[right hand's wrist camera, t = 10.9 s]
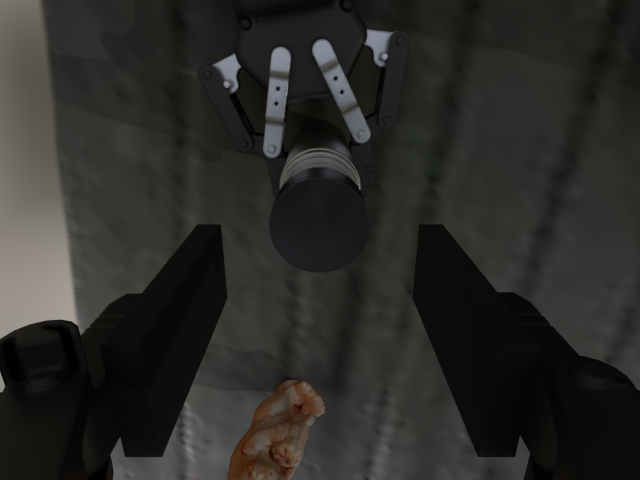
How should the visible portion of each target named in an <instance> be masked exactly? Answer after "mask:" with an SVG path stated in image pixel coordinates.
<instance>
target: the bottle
mask: <svg viewBox="0 0 640 480" xmlns="http://www.w3.org/2000/svg"><path fill="white" fill-rule="evenodd" d="M315 167H326V168H331V169H335V170H338V171H340V172H342V173H344V174H345V175H347V176H348V177H350V178H351V179H352V180H353V181H354V182H355V183H356V184H357V186H358V187H359V189H360V190H361V180H360V176H359V173H358V171H357V168H356V165H355V163H354V160H353V157H352V155H351V152H350V150H349V147H348V144H347V142H346V139H345V137H344V135H343V133H342V131H341V130H340V129H339V128H338V127H337V126H336V125H334V124H332V123H330V122H328V121H322V120H318V121H312V122H310V123H308V124H306V125H305V126H303V127H302V128H301V129H300V130H299V131H298V133H297V135H296V137H295V139H294V142H293V145H292V147H291V150H290V152H289V155H288V158H287V160H286V163H285V165H284V168H283V171H282V173H281V176H280V181H279V190H280V189H281V187H282V186H283V185H284V183H285V182H286V181H287V180H288V179H289V178H290V177H292V176H293V175H295V174H296V173H298V172H300V171H303V170H305V169H309V168H315Z"/></svg>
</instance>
